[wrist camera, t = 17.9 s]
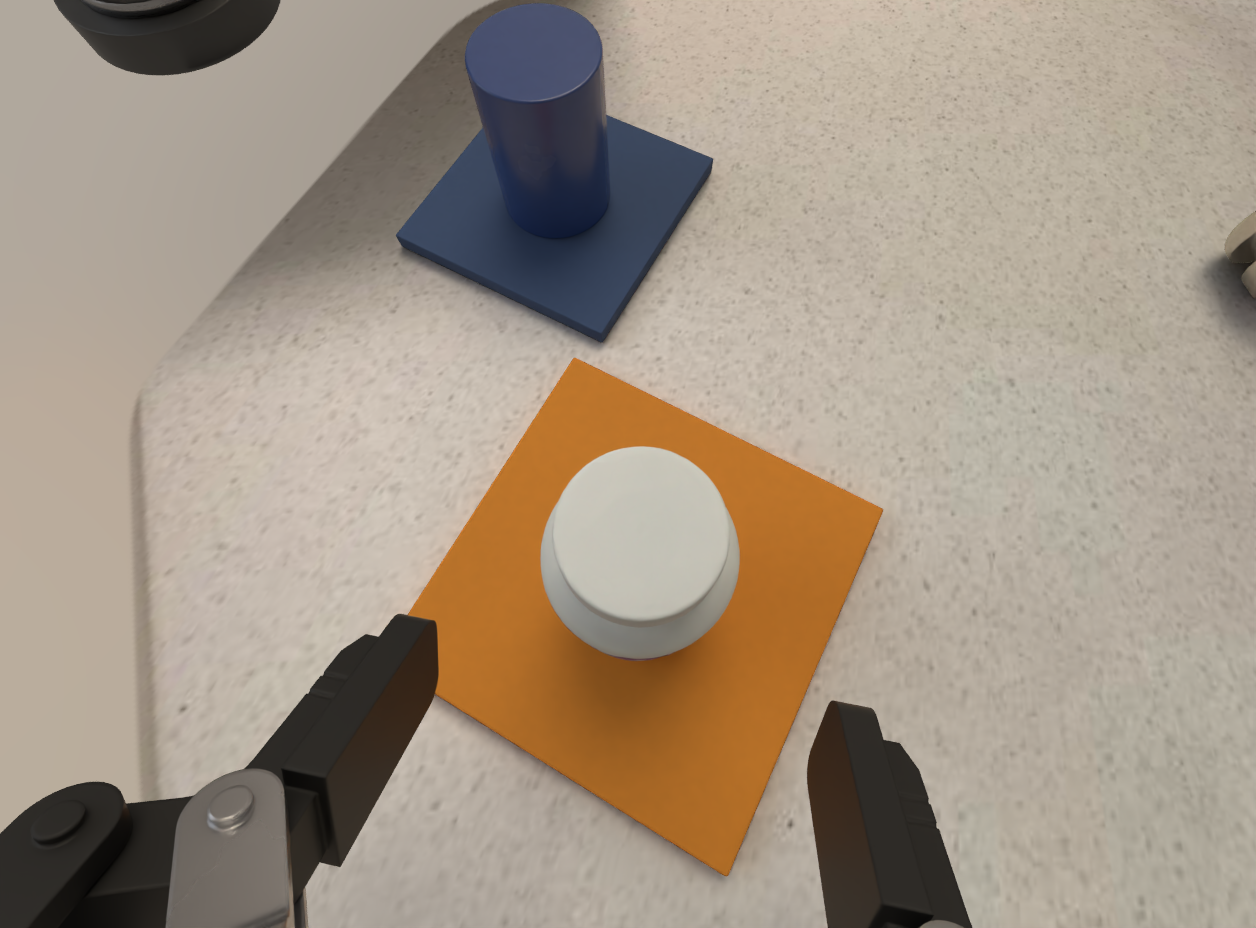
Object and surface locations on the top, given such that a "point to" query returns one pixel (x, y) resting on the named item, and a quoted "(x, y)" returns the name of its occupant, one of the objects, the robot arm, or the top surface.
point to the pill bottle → (640, 554)
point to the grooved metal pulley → (1244, 250)
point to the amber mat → (669, 685)
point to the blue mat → (564, 267)
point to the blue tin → (544, 115)
